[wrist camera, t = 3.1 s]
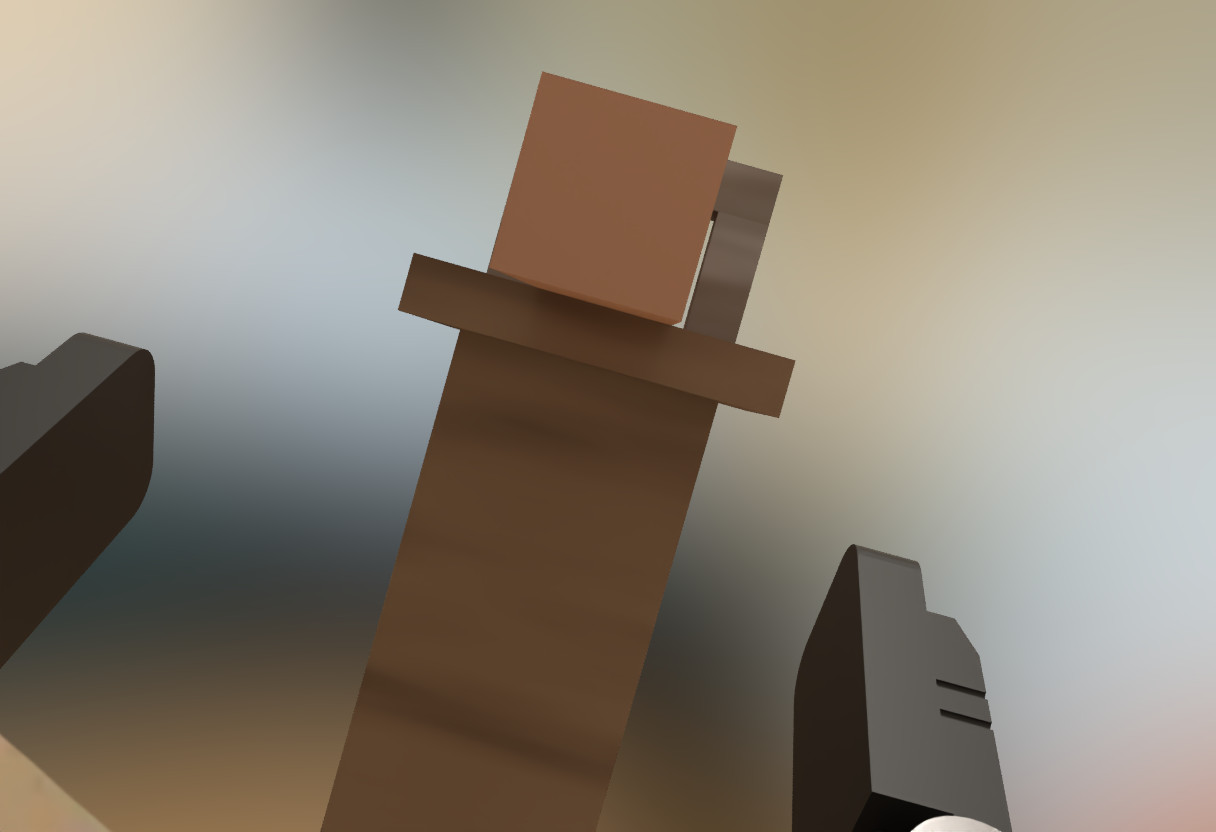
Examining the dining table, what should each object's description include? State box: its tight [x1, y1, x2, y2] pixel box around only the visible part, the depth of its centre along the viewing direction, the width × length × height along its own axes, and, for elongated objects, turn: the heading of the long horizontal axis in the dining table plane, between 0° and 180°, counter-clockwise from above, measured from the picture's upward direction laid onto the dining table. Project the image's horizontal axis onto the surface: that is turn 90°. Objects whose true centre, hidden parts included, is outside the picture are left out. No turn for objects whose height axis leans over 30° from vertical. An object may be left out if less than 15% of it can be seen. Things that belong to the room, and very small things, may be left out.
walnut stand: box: [321, 151, 795, 832], centre depth 34 cm, size 9×10×37 cm
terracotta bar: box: [489, 72, 737, 325], centre depth 28 cm, size 16×4×4 cm, turn 179°
